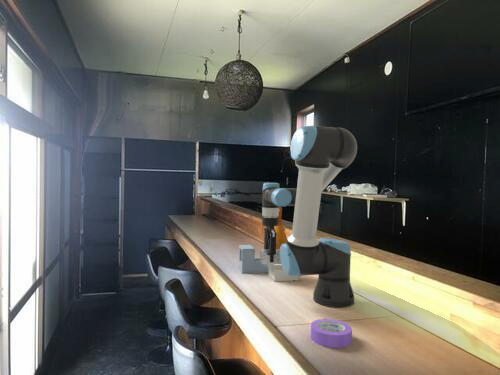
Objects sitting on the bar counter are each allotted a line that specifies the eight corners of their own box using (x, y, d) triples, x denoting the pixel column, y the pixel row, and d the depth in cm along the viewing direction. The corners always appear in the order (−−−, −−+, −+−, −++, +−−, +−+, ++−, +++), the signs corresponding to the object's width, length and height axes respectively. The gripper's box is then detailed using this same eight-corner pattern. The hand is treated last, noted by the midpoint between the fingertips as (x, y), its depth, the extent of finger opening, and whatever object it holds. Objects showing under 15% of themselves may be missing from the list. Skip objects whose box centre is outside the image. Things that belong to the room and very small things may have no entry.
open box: (286, 271, 183) (287, 248, 182) (242, 273, 179) (242, 249, 178) (281, 266, 193) (281, 244, 192) (238, 267, 188) (239, 245, 188)
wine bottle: (286, 264, 197) (287, 207, 196) (267, 263, 199) (268, 207, 198) (288, 260, 206) (289, 206, 205) (270, 259, 208) (271, 205, 207)
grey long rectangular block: (297, 260, 176) (297, 248, 176) (301, 262, 171) (301, 251, 170) (260, 261, 173) (260, 249, 172) (262, 264, 167) (262, 251, 167)
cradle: (298, 280, 168) (298, 269, 167) (274, 281, 166) (274, 270, 165) (291, 274, 178) (291, 263, 178) (268, 274, 176) (268, 264, 176)
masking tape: (345, 331, 115) (345, 318, 114) (357, 348, 103) (357, 334, 103) (307, 330, 114) (307, 318, 114) (314, 348, 103) (315, 334, 102)
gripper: (284, 219, 161) (282, 272, 162) (273, 214, 180) (272, 262, 181) (267, 219, 160) (265, 273, 161) (258, 214, 178) (257, 262, 179)
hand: (269, 267), depth 171 cm, fingers closed on grey long rectangular block, 5 cm apart
